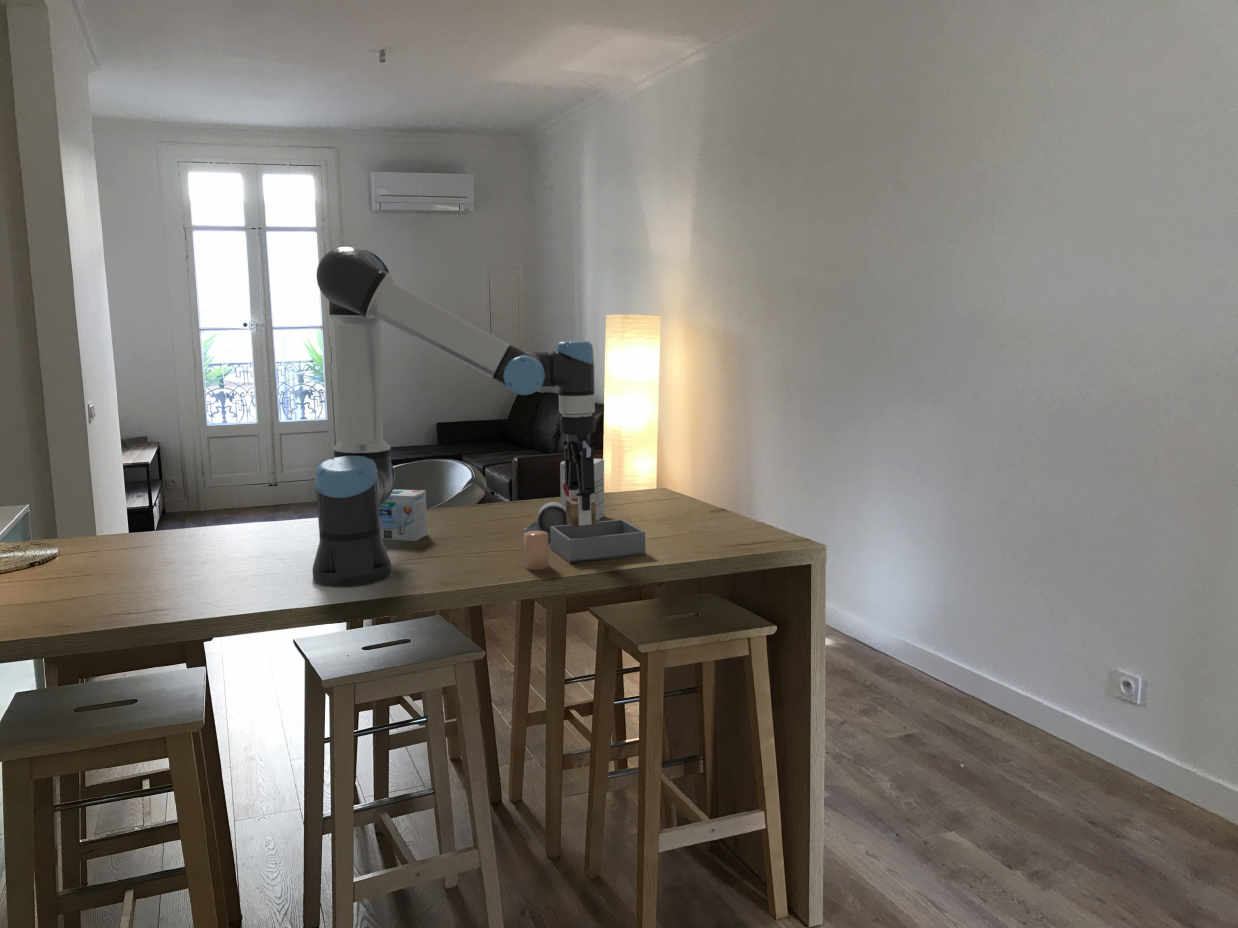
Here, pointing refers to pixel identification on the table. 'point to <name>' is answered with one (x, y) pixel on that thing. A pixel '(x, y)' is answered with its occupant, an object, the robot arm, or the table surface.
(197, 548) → the table surface
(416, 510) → the light bulb box
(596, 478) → the supplement box
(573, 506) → the walnut cube
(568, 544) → the tote
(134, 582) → the table surface
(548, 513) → the ceramic mug
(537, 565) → the glossy tan capsule
